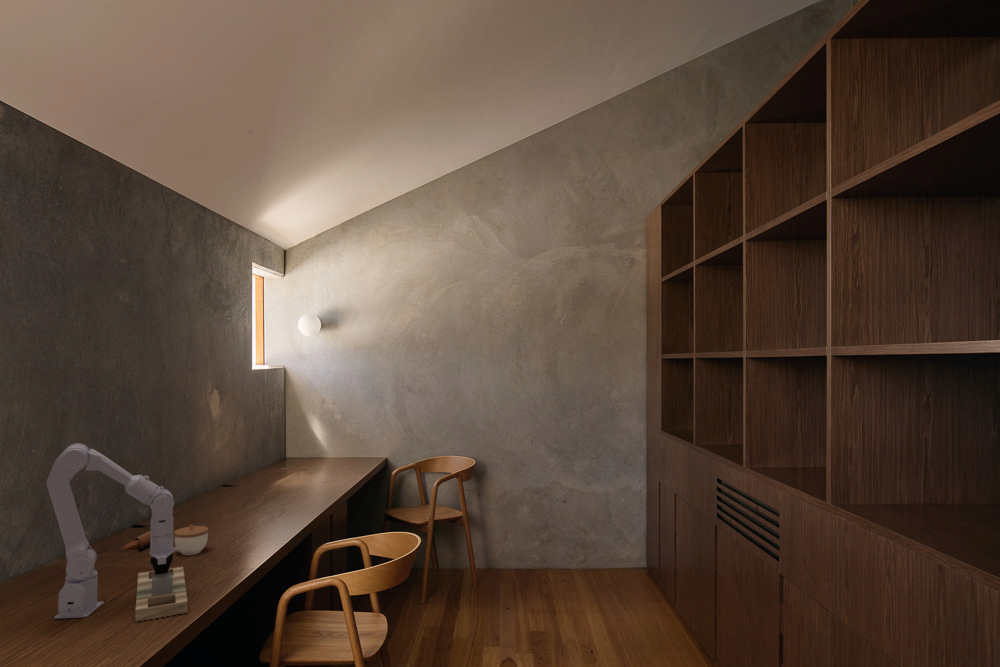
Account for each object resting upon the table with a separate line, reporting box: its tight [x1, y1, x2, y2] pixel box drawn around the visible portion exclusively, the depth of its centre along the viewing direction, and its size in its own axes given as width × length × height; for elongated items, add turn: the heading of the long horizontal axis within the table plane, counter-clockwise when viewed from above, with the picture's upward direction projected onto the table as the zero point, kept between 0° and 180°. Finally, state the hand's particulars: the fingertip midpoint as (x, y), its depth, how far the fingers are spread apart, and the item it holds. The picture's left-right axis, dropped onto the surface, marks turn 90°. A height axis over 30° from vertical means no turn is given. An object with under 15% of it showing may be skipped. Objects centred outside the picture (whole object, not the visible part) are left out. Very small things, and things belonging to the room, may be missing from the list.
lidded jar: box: [173, 524, 209, 556], centre depth 223 cm, size 11×11×9 cm
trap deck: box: [134, 565, 189, 623], centre depth 182 cm, size 32×12×3 cm, turn 28°
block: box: [152, 572, 173, 596], centre depth 179 cm, size 5×5×4 cm
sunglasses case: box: [120, 530, 151, 552], centre depth 232 cm, size 18×7×7 cm
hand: (161, 582), depth 182 cm, fingers closed
